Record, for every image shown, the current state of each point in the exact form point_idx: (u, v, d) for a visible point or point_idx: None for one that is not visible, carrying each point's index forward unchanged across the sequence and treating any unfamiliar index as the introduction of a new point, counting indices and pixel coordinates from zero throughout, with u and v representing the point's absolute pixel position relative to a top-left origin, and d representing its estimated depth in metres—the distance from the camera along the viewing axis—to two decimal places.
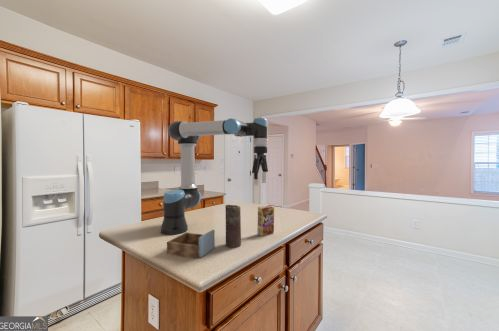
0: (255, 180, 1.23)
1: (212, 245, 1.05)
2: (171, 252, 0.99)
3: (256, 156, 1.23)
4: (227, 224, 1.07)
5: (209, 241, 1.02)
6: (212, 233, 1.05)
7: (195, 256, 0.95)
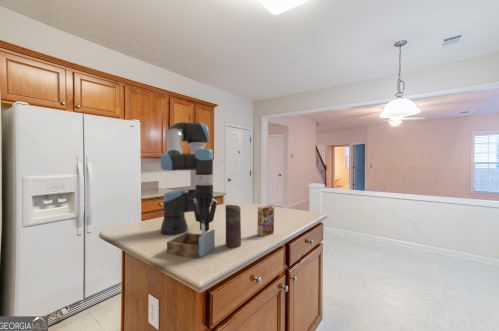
0: None
1: (212, 245, 1.05)
2: (171, 252, 0.99)
3: None
4: (227, 224, 1.07)
5: (209, 241, 1.02)
6: (212, 233, 1.05)
7: (195, 256, 0.95)
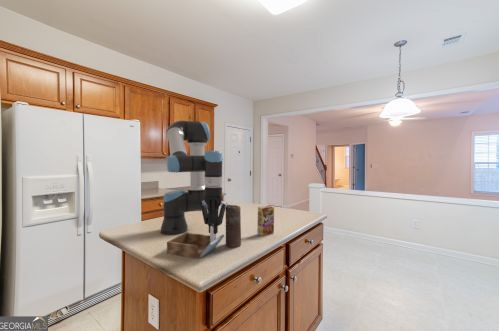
0: None
1: (214, 247, 1.04)
2: (171, 252, 0.99)
3: None
4: (227, 224, 1.07)
5: (214, 245, 1.01)
6: (221, 238, 1.03)
7: (195, 256, 0.95)
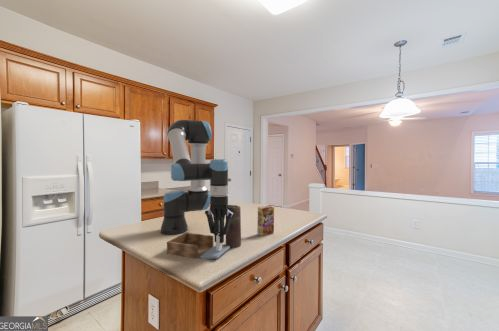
0: None
1: None
2: (171, 252, 0.99)
3: None
4: None
5: None
6: None
7: (195, 256, 0.95)
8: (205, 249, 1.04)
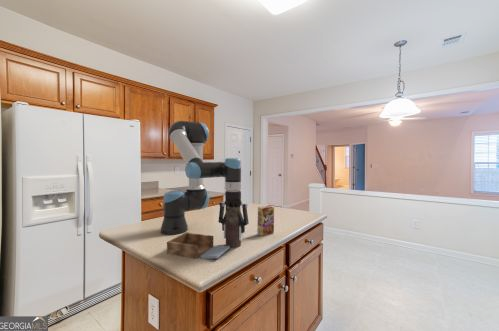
0: None
1: None
2: (171, 252, 0.99)
3: None
4: (227, 224, 1.07)
5: None
6: None
7: (195, 256, 0.95)
8: (205, 249, 1.04)
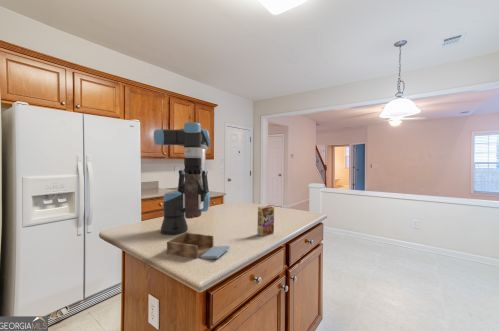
0: None
1: None
2: (171, 252, 0.99)
3: None
4: (186, 192, 1.01)
5: None
6: None
7: (195, 256, 0.95)
8: (205, 249, 1.04)
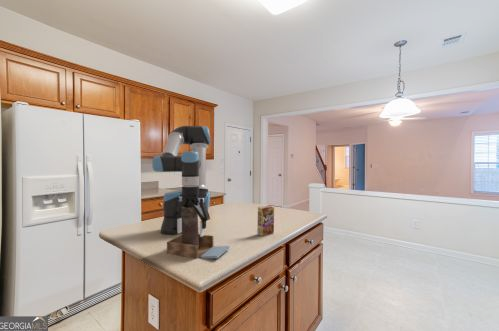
0: None
1: None
2: (171, 252, 0.99)
3: None
4: (182, 226, 1.01)
5: None
6: None
7: (195, 256, 0.95)
8: (205, 249, 1.04)
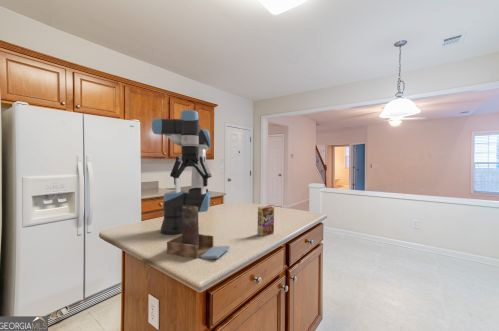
0: None
1: None
2: (171, 252, 0.99)
3: None
4: (183, 226, 1.01)
5: None
6: None
7: (195, 256, 0.95)
8: (205, 249, 1.04)
